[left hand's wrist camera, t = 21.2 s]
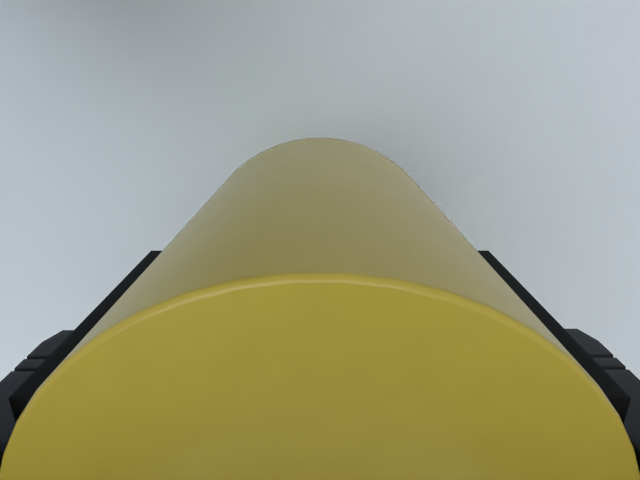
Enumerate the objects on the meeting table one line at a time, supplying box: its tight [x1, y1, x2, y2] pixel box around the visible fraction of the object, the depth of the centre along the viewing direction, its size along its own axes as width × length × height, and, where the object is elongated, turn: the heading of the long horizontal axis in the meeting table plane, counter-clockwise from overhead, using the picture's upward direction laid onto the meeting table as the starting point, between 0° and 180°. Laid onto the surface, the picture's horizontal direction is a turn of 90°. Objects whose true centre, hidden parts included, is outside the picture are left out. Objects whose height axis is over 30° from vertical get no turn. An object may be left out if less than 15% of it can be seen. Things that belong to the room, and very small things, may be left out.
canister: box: [0, 138, 640, 480], centre depth 11 cm, size 9×9×11 cm
